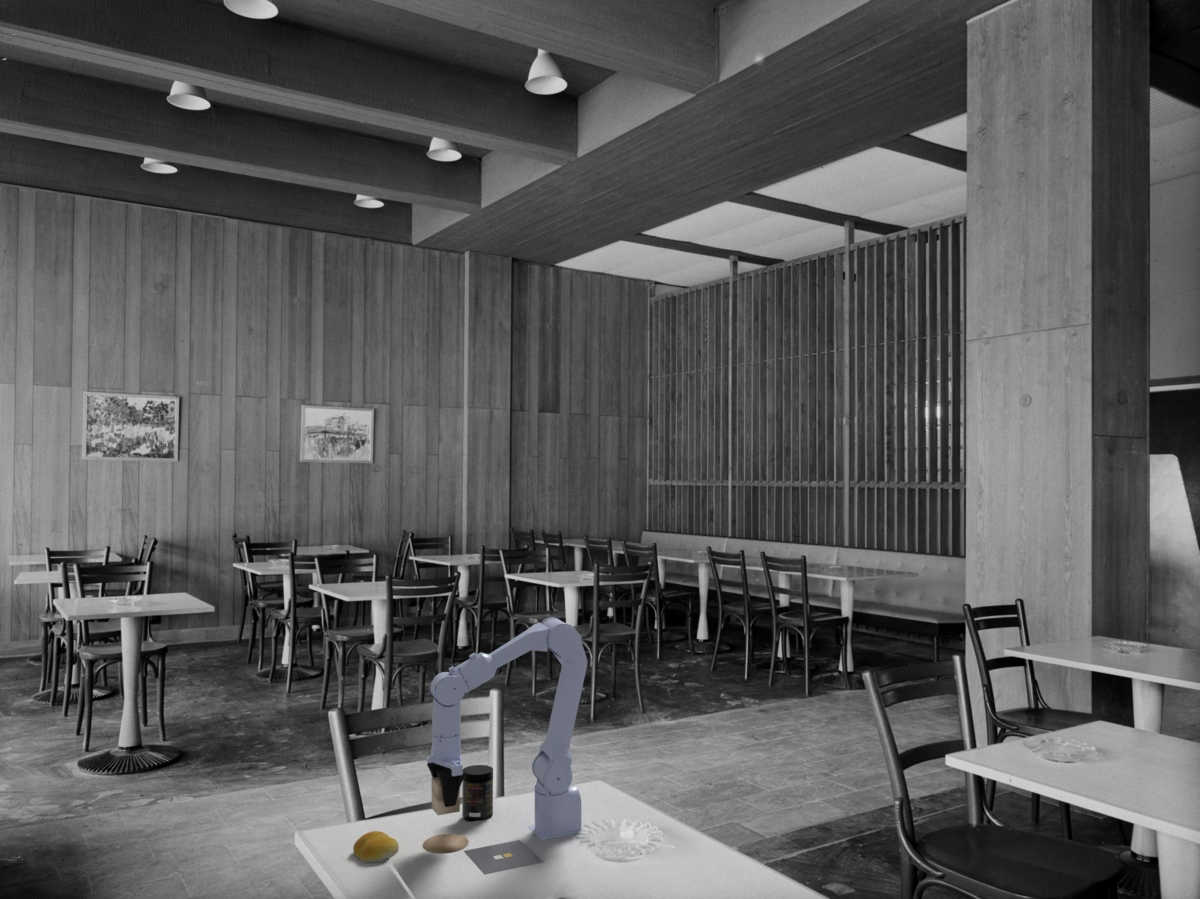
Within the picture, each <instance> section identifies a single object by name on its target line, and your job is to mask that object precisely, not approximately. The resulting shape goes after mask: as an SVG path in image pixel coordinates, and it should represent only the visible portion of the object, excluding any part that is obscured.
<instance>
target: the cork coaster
mask: <svg viewBox="0 0 1200 899" xmlns="http://www.w3.org/2000/svg"><path fill="white" fill-rule="evenodd" d="M469 842H470V840H469V839H468V838H467V837H466V836H464V835H461V834H457V833H456V834H455V833H445V834H437V835H433V836H431V837H429V838H427V839H425V840H424V841H423V844H422V846H423V849H424V850H426V851H428V852H430V853H435V854H450V853H456V852H460V851H461V850H464V849H465V848H467V847H468V846H469Z"/></svg>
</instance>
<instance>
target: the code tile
mask: <svg viewBox="0 0 1200 899" xmlns="http://www.w3.org/2000/svg"><path fill="white" fill-rule="evenodd" d="M463 852H464V853H465V854H466V856H467V857H468V858H469V859H470V861H472V862H473V863H474V864H475V866H476V867H477V868H478V869H479V870H480V871H481V872H482V873H483V874H484V875H490V874H495V873H499V872H502V871H507V870H512V869H517V868H523V867H526V866H532V865H536V864H541V863H544V862H545V861H544V860H542V859H541V858H540V857H539V856H538V855H537V854H536V853H535V852H534V851H533V850H532V849H531V848H530V847H528V846H527V845H526V843H524V842H523V841H522V840H521V839H517V840H512V841H507V842H503V843H497V844H492V845H487V846H482V847H476V848H472V849H471V848H470V849H466V850H463Z"/></svg>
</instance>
